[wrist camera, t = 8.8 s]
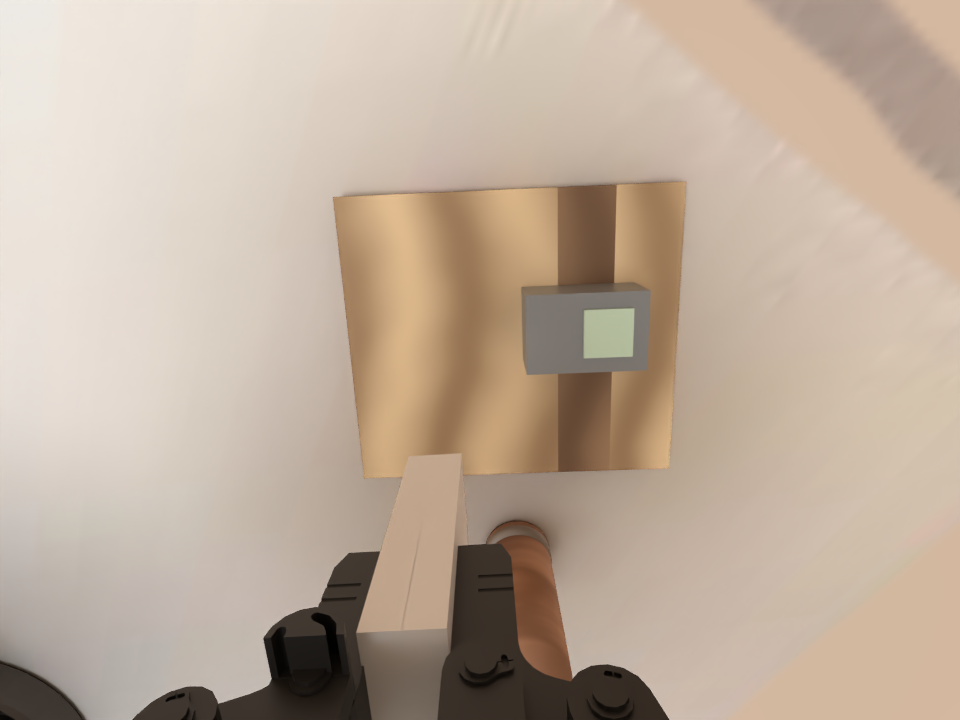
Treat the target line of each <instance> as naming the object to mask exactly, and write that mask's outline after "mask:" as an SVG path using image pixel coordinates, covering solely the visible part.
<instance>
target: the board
mask: <svg viewBox="0 0 960 720" xmlns="http://www.w3.org/2000/svg"><path fill="white" fill-rule="evenodd" d="M685 194H686V182H666V183H643V184H621V185H598V186H575V187H552V188H530V189H507V190H484V191H462V192H439V193H416V194H393V195H371V196H348V197H333V201H334V210H335V219H336V228H337V237H338V246H339V255H340V264H341V273H342V282H343V291H344V300H345V309H346V318H347V327H348V336H349V345H350V354H351V363H352V372H353V381H354V390H355V399H356V408H357V417H358V426H359V435H360V444H361V453H362V462H363V471H364V478H388V477H403V474H404V471H405V467H406V464H407V461H408V457H409V456H422V455H440V454H458V453H462V466H463V475H478V474H508V473H539V472H569V471H599V470H629V469H659V468H669V461H670V445H671V428H672V411H673V394H674V378H675V361H676V344H677V327H678V311H679V294H680V277H681V261H682V244H683V227H684V210H685ZM626 282H635V283H637V284H639V285H641V286H643V287H645V288H647V289H649V290H651V297H650V320H649V343H648V366H647V370H643V371H617V372H592V373H566V374H540V375H527V373H526V369H525V365H524V361H523V342H522V297H521V287H531V286H555V285H578V284H602V283H626Z"/></svg>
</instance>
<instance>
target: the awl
mask: <svg viewBox="0 0 960 720" xmlns="http://www.w3.org/2000/svg"><path fill="white" fill-rule="evenodd" d="M500 543H501V544H502V545H503V547H504V548H505V549H506V551H507V552H508V553H509V555H510V556H511V560H512V572H513V584H514V596H515V608H516V620H517V632H518V642H519V647H520V651H521V653H522V654H523V656H524V658H525V659H526V660H527V661H528V662H529V663H530V664H531V665H532V666H533V667H534V668H535V669H537V670H539V671H540V672H542V673H544V674H547V675H549V676H552V677H555V678H559V679H563V680H567V681H571V680H572V672H571V666H570V661H569V656H568V650H567V645H566V639H565V634H564V629H563V623H562V618H561V612H560V607H559V602H558V596H557V591H556V586H555V580H554V575H553V569H552V560H551V554H550V549H549V545H548V542H547V539H546V537H545V535H544V534H543V533H542V531H541V530H540V529H539V528H537V527H536V526H534V525H532V524H530V523H527V522H522V521H513V522H508V523H505V524H502V525H500V526H499V527H497V528H496V529H495V530H494V531H493V532H492V533H491V534H490V536H489V538H488V540H487V543H486V544H500Z"/></svg>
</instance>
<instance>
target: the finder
mask: <svg viewBox="0 0 960 720" xmlns="http://www.w3.org/2000/svg"><path fill="white" fill-rule="evenodd" d="M521 297H522V342H523V361H524V365H525V369H526V373H527V375H540V374H566V373H592V372H617V371H643V370H647V366H648V343H649V320H650V297H651V290H649V289H647V288H645V287H643V286H641V285H639V284H637V283H635V282H626V283H602V284H578V285H555V286H531V287H521Z"/></svg>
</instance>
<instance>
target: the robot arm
mask: <svg viewBox="0 0 960 720" xmlns="http://www.w3.org/2000/svg"><path fill="white" fill-rule="evenodd" d="M263 639H264V644H265V649H266V654H267V658H268V663H269V668H270V673H271V677H272V679H271V682H270V684H269V685H268V686H267V687H265V688H263V689H261V690H259V691H256V692H254V693H251V694H249V695H245V696H242V697H239V698H236V699H233V700H230V701H227V702H224V703H220V704H218V702H217V700H216V698H215V696H214V694H213V692H212V691H210V690H208V689H206V688H204V687H184V688H181V689H178V690H175V691H171V692H169V693H167V694H165V695H163V696H162V697H160V698H158V699H156V700H155V701H153V702H151V703H150V704H149V705H148V706H147V707H146V708H144V709H143V710H142V711H141V712H140V713H139V714H137V715H136V716H135V717H134V718H133V720H669V718H668V717H667V715H666V714H665V712H664V711H663V709H662V707H661V706H660V704H659V703H658V701H657V700H656V698H655V696H654V695H653V693H652V692H651V690H650V689H649V688H648V687H647V686H646V684H645V683H644V682H643V681H642V680H641V679H640V678H639V677H638V676H636V675H635V674H633V673H631V672H629V671H628V670H626V669H624V668H621V667H616V666H612V665H608V664H607V665H595V666H590V667H588V668H586V669H584V670H582V671H580V672H578V673H577V675H576V676H575V677H574V678H573V679H572V680H571V681H567V680H563V679H559V678H555V677H552V676H549V675H547V674H544V673H542V672H540V671H539V670H537V669H535V668H534V667H533V666H532V665H531V664H530V663H529V662H528V661H527V660H526V659H525V658H524V656H523V654H522V653H521V651H520V647H519V642H518V632H517V620H516V608H515V596H514V584H513V572H512V560H511V556H510V555H509V553H508V552H507V551H506V549H505V548H504V547H503V545H502V544H501V543H500V544H482V545H468V529H467V516H466V503H465V491H464V478H463V466H462V453H458V454H440V455H422V456H409V457H408V461H407V464H406V467H405V471H404V474H403V477H402V481H401V484H400V487H399V491H398V494H397V497H396V501H395V504H394V507H393V511H392V514H391V518H390V521H389V524H388V528H387V531H386V534H385V538H384V541H383V544H382V548H381V551H379V552H360V553H349V554H348V555H347V556H346V557H345V558H344V559H343V560H342V561H341V562H340V563H339V564H338V565H337V566H336V567H335V568H334V570H333V572H332V575H331V577H330V579H329V582H328V584H327V588H326V589H325V591H324V594H323V596H322V601H321V602H320V604H319V606H318V607H314V608H309V609H303V610H299V611H297V612H295V613H292V614H290V615H288V616H286V617H284V618H283V619H281V620H280V621H279V622H278V623H276V624H275V625H274V626H272V627H271V629H270V630H269V631H268V633H267V634H266V635H265V637H264V638H263ZM0 720H82V719H81V718H80V716H79V715H78V714H77V712H76V711H75V710H74V709H73V707H72V706H71V705H70V704H69V703H68V702H67V701H66V700H65V699H64V698H63V697H62V696H61V695H59V694H58V693H57V692H56V691H54V690H53V689H52V688H50V687H49V686H48V685H46V684H45V683H43V682H41V681H40V680H38V679H36V678H34V677H33V676H31V675H29V674H27V673H24V672H22V671H20V670H17V669H15V668H12V667H9V666H6V665H3V664H0Z"/></svg>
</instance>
